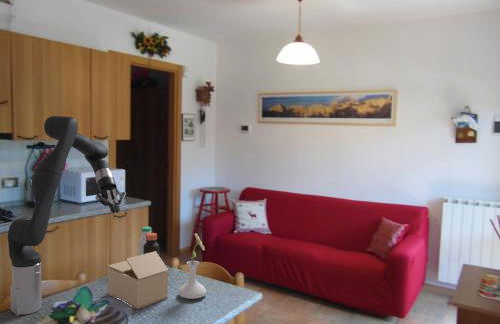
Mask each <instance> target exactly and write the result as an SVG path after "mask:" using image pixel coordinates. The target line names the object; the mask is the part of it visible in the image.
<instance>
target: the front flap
mask: <svg viewBox="0 0 500 324" xmlns="http://www.w3.org/2000/svg"><path fill="white" fill-rule="evenodd" d="M125 261H127V262H128V264H129V266H130V267H131V269H132V270H133V272H134V274H135V275H136V277H137V278H138V280H140V279H143V278H146V277H150V276H153V275H156V274H159V273H162V272H166V271H168V272H169V268H168V267H167V266H166V264H165V262H164V261H163V260H162V258H161V257H160V254H159V255H158V254H157V252H156V251H154V252H151V253H147V254H143V255H139V256H138V255H135V256H132V257H127V258H125Z"/></svg>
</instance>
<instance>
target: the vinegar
mask: <svg viewBox="0 0 500 324" xmlns="http://www.w3.org/2000/svg"><path fill="white" fill-rule="evenodd" d="M157 240H158V233H156V232H151V233H148V234H146V243H145V244H144V254H147V253H151V252H154V251H156V252H157V254H158V255H159V256H160V244H159V243H158V242H157Z"/></svg>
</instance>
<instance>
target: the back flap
mask: <svg viewBox="0 0 500 324" xmlns="http://www.w3.org/2000/svg"><path fill="white" fill-rule="evenodd" d="M107 267H108V268H112V269H114V270H117V271H119V272H121V273H124V272H127V271H131V270H132V269H131V267H130V266H129V264H128V262H127V261H126V260H124V261H120V262H116V263H112V264H108V266H107Z"/></svg>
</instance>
